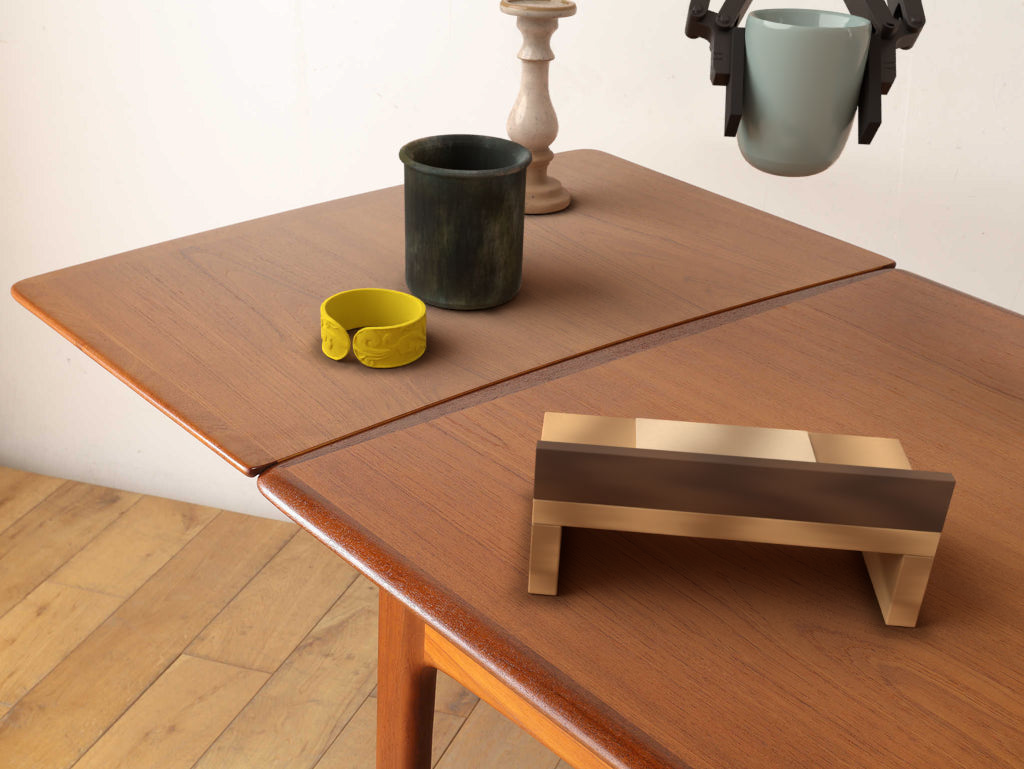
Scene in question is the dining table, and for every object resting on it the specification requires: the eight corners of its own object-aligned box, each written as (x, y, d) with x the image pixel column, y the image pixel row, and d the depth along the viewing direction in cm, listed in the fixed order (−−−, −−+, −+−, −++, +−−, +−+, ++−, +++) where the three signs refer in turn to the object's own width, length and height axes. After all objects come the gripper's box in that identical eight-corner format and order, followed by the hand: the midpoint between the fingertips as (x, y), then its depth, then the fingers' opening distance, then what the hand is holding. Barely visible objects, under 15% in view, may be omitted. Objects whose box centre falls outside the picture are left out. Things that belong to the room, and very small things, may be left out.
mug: (398, 314, 86) (395, 170, 80) (403, 250, 98) (402, 122, 93) (531, 315, 86) (538, 173, 81) (519, 251, 99) (524, 124, 94)
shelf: (877, 525, 62) (910, 391, 58) (915, 628, 54) (956, 481, 50) (539, 497, 63) (547, 364, 59) (527, 593, 55) (535, 448, 51)
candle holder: (540, 184, 118) (550, -7, 108) (586, 207, 111) (601, 6, 102) (472, 195, 113) (476, -3, 104) (516, 220, 107) (525, 10, 97)
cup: (706, 158, 74) (724, 10, 69) (797, 150, 77) (820, 6, 72) (771, 191, 68) (796, 30, 63) (868, 180, 71) (898, 25, 66)
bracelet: (348, 319, 85) (347, 281, 83) (441, 336, 83) (441, 297, 81) (304, 356, 78) (302, 316, 77) (403, 375, 76) (403, 334, 75)
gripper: (937, -110, 77) (946, 168, 71) (652, -121, 79) (634, 150, 72) (975, -193, 70) (989, 106, 63) (661, -204, 71) (642, 88, 65)
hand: (801, 129), depth 68 cm, fingers closed on cup, 8 cm apart
